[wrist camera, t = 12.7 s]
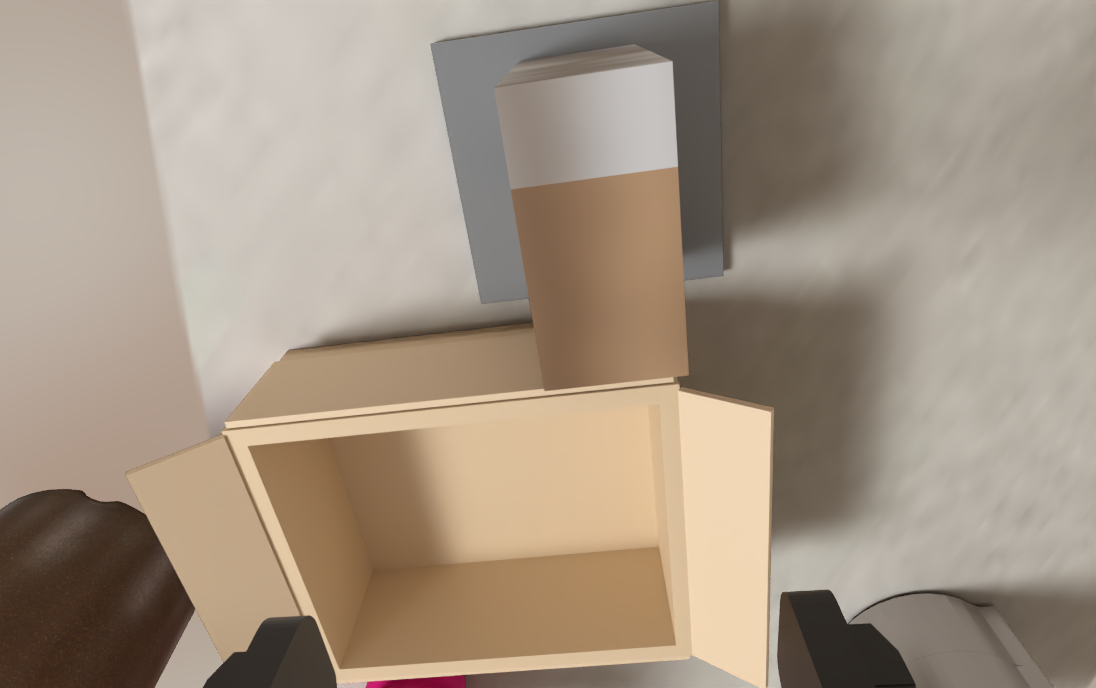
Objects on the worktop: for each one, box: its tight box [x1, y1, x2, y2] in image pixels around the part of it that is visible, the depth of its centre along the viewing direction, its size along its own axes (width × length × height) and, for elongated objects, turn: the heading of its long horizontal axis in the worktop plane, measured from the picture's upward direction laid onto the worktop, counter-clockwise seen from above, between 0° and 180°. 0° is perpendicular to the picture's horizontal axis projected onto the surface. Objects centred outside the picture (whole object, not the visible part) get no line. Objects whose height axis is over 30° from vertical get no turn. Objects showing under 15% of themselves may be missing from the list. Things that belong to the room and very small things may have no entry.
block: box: [494, 44, 689, 391], centre depth 23 cm, size 4×9×10 cm, turn 8°
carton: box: [125, 323, 774, 688], centre depth 31 cm, size 24×16×9 cm, turn 98°
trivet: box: [430, 1, 723, 304], centre depth 28 cm, size 11×11×1 cm
